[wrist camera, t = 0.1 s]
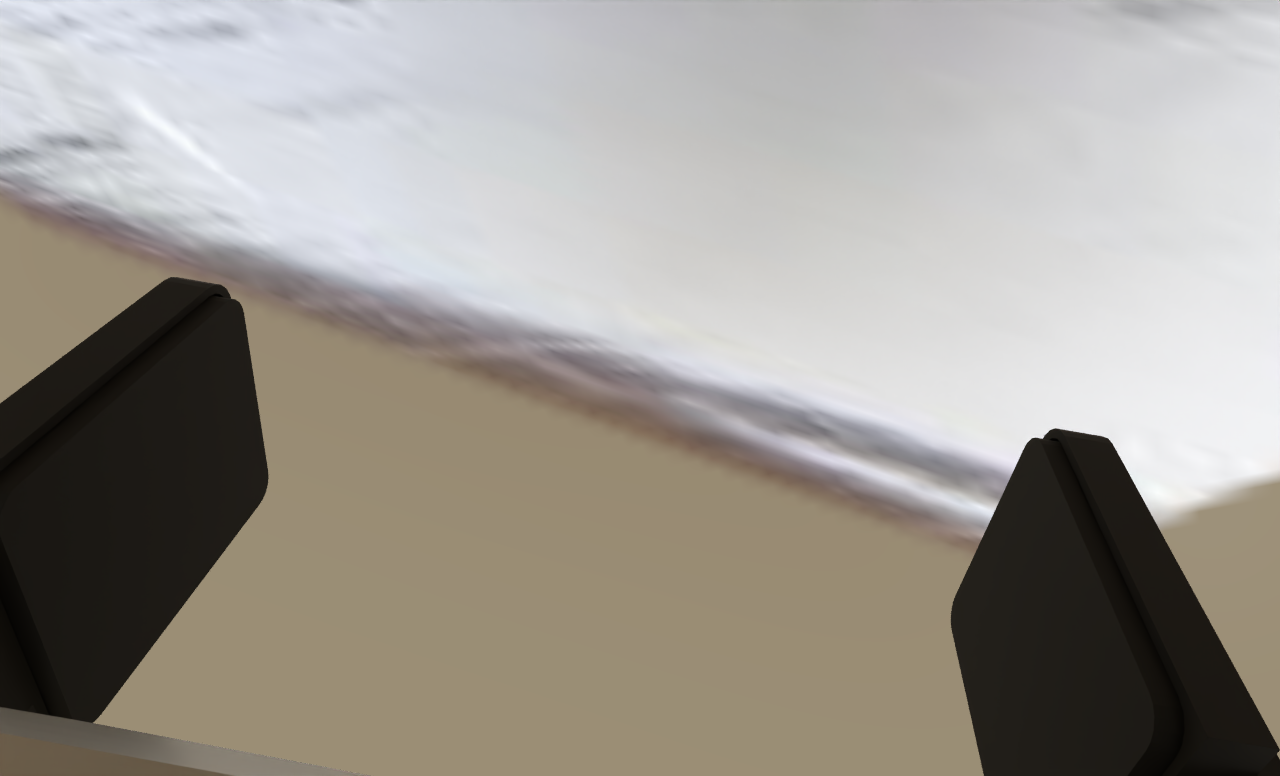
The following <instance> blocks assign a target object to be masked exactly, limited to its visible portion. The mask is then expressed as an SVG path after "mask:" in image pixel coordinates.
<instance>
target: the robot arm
mask: <svg viewBox="0 0 1280 776" xmlns="http://www.w3.org/2000/svg"><path fill="white" fill-rule="evenodd" d="M267 485H268V468H267V461H266V455H265V448H264V442H263V435H262V429H261V422H260V415H259V409H258V402H257V396H256V390H255V383H254V376H253V369H252V363H251V356H250V350H249V343H248V337H247V330H246V324H245V318H244V312H243V308H242V306H241V304H240V302H238V301H237V300H235V299H231V297H230V294H229V292H228V291H227V289H226V288H225V287H223V286H222V285H219V284H213V283H207V282H201V281H195V280H190V279H184V278H178V277H170V278H168V279H166V280H164V281H163V282H161V283H160V284H159V285H157V286H156V287H155V288H153V289H152V290H151V291H149V292H148V293H147V294H145V295H144V296H143V297H141V298H140V299H139V300H137V301H136V302H135V303H134V304H132V305H131V306H129V307H128V308H127V309H125V310H124V311H123V312H122V313H120V314H119V315H118V316H116V317H115V318H114V319H112V320H111V321H110V322H108V323H107V324H105V325H104V326H103V327H102V328H100V329H99V330H98V331H96V332H95V333H94V334H92V335H91V336H90V337H88V338H87V339H86V340H84V341H83V342H82V343H80V344H79V345H78V346H76V347H75V348H74V349H72V350H71V351H70V352H68V353H67V354H66V355H64V356H63V357H62V358H60V359H59V360H58V361H56V362H55V363H54V364H53V365H51V366H50V367H48V368H47V369H46V370H44V371H43V372H42V373H40V374H39V375H38V376H36V377H35V378H34V379H32V380H31V381H30V382H28V383H27V384H26V385H24V386H23V387H22V388H20V389H19V390H18V391H16V392H15V393H14V394H12V395H11V396H10V397H8V398H7V399H6V400H4V401H3V402H2V403H0V776H368V775H364V774H359V773H353V772H348V771H343V770H338V769H333V768H327V767H322V766H317V765H312V764H306V763H301V762H296V761H290V760H285V759H280V758H275V757H269V756H264V755H258V754H253V753H248V752H243V751H237V750H232V749H227V748H221V747H216V746H211V745H205V744H200V743H195V742H190V741H184V740H179V739H174V738H168V737H163V736H157V735H153V734H147V733H142V732H137V731H131V730H126V729H121V728H115V727H110V726H105V725H99V724H94V723H93V722H94V721H95V720H96V719H97V718H98V717H99V716H100V715H101V714H102V712H103V711H104V710H105V708H106V707H107V706H108V704H109V703H110V702H111V700H112V699H113V698H114V696H115V695H116V694H117V693H118V691H119V690H120V689H121V687H122V686H123V685H124V683H125V682H126V681H127V679H128V678H129V677H130V675H131V674H132V673H133V671H134V670H135V669H136V667H137V666H138V665H139V663H140V662H141V661H142V659H143V658H144V657H145V655H146V654H147V653H148V651H149V650H150V649H151V647H152V646H153V645H154V643H155V642H156V641H157V639H158V638H159V637H160V636H161V634H162V633H163V632H164V630H165V629H166V628H167V626H168V625H169V624H170V622H171V621H172V620H173V618H174V617H175V616H176V614H177V613H178V612H179V610H180V609H181V608H182V606H183V605H184V604H185V602H186V601H187V600H188V598H189V597H190V596H191V594H192V593H193V592H194V590H195V589H196V588H197V587H198V585H199V584H200V582H201V581H202V580H203V579H204V577H205V576H206V575H207V573H208V572H209V570H210V569H211V568H212V567H213V565H214V564H215V563H216V561H217V560H218V559H219V557H220V556H221V555H222V553H223V552H224V551H225V549H226V548H227V547H228V545H229V544H230V543H231V541H232V540H233V539H234V537H235V536H236V535H237V533H238V532H239V531H240V530H241V528H242V527H243V525H244V524H245V523H246V522H247V520H248V519H249V518H250V516H251V515H252V514H253V512H254V511H255V509H256V508H257V507H258V506H259V504H260V503H261V501H262V499H263V497H264V495H265V493H266V489H267ZM951 628H952V633H953V638H954V642H955V647H956V651H957V656H958V660H959V664H960V669H961V674H962V678H963V683H964V687H965V692H966V696H967V701H968V705H969V710H970V714H971V718H972V723H973V728H974V732H975V737H976V741H977V746H978V751H979V755H980V759H981V764H982V768H983V773H984V776H1280V759H1279V757H1278V756H1277V753H1278V752H1279V750H1280V749H1279V748H1278V746H1277V744H1276V742H1275V740H1274V739H1273V736H1272V735H1271V733H1270V731H1269V729H1268V727H1267V725H1266V724H1265V722H1264V720H1263V718H1262V716H1261V714H1260V713H1259V711H1258V709H1257V707H1256V705H1255V704H1254V702H1253V700H1252V698H1251V697H1250V694H1249V693H1248V691H1247V689H1246V687H1245V685H1244V683H1243V682H1242V680H1241V678H1240V676H1239V674H1238V672H1237V671H1236V669H1235V667H1234V665H1233V663H1232V662H1231V660H1230V658H1229V656H1228V654H1227V652H1226V650H1225V649H1224V647H1223V645H1222V643H1221V641H1220V640H1219V638H1218V636H1217V634H1216V632H1215V630H1214V629H1213V627H1212V625H1211V623H1210V621H1209V619H1208V618H1207V616H1206V614H1205V612H1204V610H1203V609H1202V607H1201V605H1200V603H1199V601H1198V599H1197V597H1196V596H1195V594H1194V592H1193V590H1192V588H1191V586H1190V585H1189V583H1188V581H1187V579H1186V577H1185V575H1184V574H1183V572H1182V570H1181V568H1180V566H1179V565H1178V563H1177V561H1176V559H1175V557H1174V555H1173V554H1172V552H1171V550H1170V548H1169V546H1168V544H1167V543H1166V541H1165V539H1164V537H1163V535H1162V534H1161V532H1160V530H1159V528H1158V526H1157V524H1156V522H1155V521H1154V519H1153V517H1152V515H1151V513H1150V512H1149V510H1148V508H1147V506H1146V504H1145V502H1144V501H1143V499H1142V497H1141V495H1140V493H1139V491H1138V490H1137V488H1136V486H1135V484H1134V482H1133V480H1132V479H1131V477H1130V475H1129V473H1128V471H1127V469H1126V468H1125V466H1124V464H1123V462H1122V460H1121V458H1120V457H1119V455H1118V453H1117V451H1116V449H1115V448H1114V446H1113V444H1112V443H1111V441H1110V440H1109V439H1108V438H1105V437H1102V436H1097V435H1091V434H1085V433H1079V432H1073V431H1068V430H1062V429H1056V428H1055V429H1052V430H1050V431H1049V432H1048V433H1047V434H1046V435H1045V436H1044V438H1043V439H1040V438H1032V439H1031V440H1030V441H1029V442H1028V443H1027V444H1026V446H1025V448H1024V450H1023V452H1022V454H1021V456H1020V458H1019V461H1018V463H1017V465H1016V467H1015V469H1014V471H1013V473H1012V476H1011V478H1010V480H1009V482H1008V484H1007V486H1006V488H1005V491H1004V493H1003V495H1002V497H1001V499H1000V501H999V503H998V506H997V508H996V510H995V512H994V514H993V516H992V518H991V521H990V523H989V525H988V527H987V529H986V531H985V533H984V536H983V538H982V540H981V542H980V544H979V546H978V549H977V551H976V553H975V555H974V557H973V559H972V561H971V564H970V566H969V568H968V570H967V572H966V574H965V577H964V579H963V581H962V583H961V585H960V587H959V589H958V591H957V594H956V596H955V598H954V601H953V606H952V611H951Z"/></svg>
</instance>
